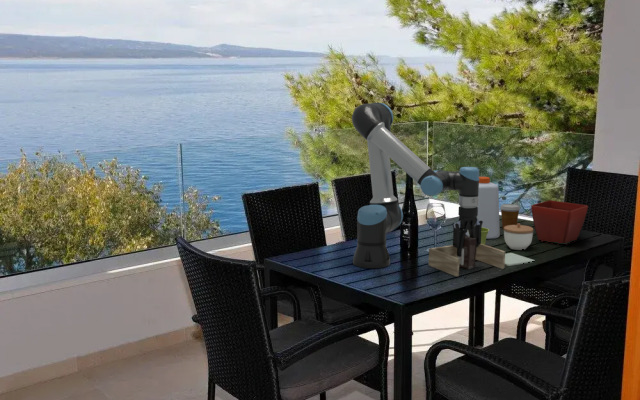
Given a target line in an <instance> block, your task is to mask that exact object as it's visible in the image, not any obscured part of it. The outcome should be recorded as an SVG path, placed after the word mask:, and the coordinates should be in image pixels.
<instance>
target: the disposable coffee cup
mask: <svg viewBox="0 0 640 400" xmlns="http://www.w3.org/2000/svg"><path fill="white" fill-rule="evenodd" d="M499 210H500V213H501V214H500V215H501V226H502V230H503V231H504V227H505V226H508V225H517V224H518V218H519V214H520V210H521V208H520V205H518V204H512V203H503V204H501V205H500V206H499Z"/></svg>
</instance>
